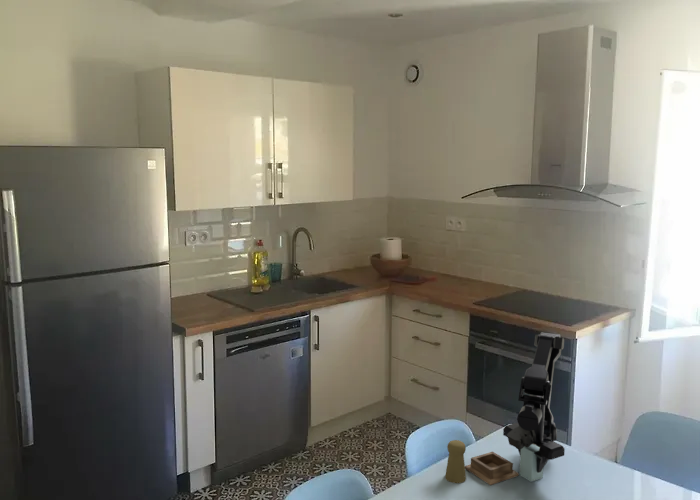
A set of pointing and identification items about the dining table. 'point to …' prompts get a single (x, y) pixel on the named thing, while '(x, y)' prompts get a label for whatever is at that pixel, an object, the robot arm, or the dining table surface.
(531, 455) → the painted peg
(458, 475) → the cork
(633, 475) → the dining table surface
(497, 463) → the walnut socket
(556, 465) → the dining table surface
